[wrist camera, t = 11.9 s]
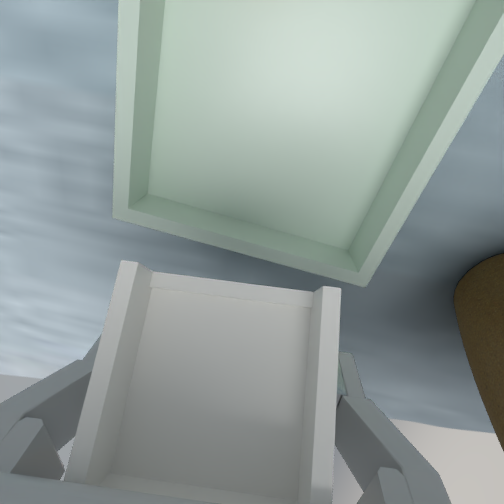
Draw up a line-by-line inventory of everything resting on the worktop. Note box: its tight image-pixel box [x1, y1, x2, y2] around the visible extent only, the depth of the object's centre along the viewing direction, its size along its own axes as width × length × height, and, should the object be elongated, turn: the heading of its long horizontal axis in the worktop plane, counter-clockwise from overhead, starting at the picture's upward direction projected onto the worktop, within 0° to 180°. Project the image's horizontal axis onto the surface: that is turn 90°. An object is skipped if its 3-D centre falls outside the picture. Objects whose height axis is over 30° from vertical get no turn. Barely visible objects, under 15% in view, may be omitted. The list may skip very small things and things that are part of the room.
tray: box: [112, 0, 504, 288], centre depth 16 cm, size 18×20×4 cm
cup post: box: [64, 260, 341, 504], centre depth 10 cm, size 5×5×9 cm
